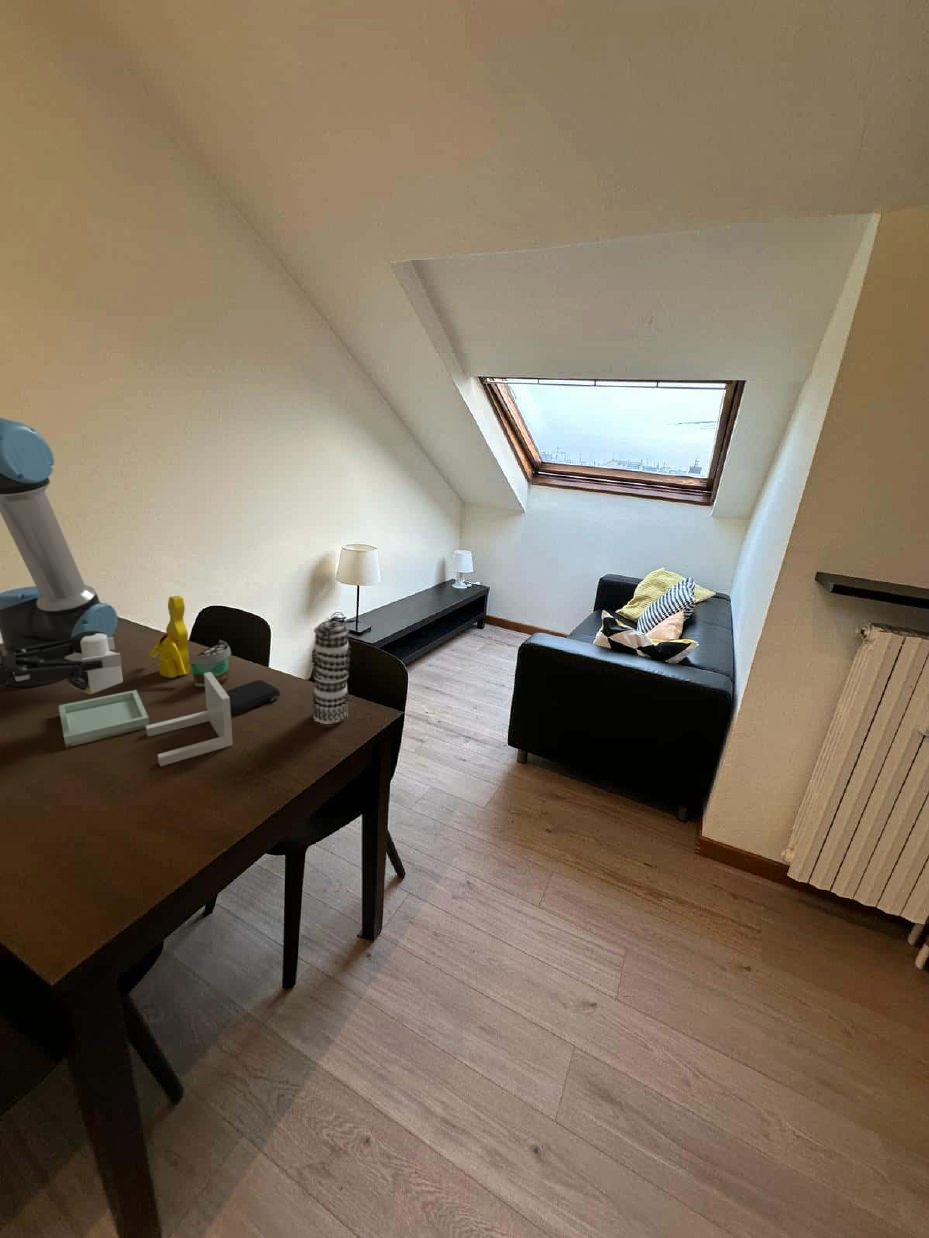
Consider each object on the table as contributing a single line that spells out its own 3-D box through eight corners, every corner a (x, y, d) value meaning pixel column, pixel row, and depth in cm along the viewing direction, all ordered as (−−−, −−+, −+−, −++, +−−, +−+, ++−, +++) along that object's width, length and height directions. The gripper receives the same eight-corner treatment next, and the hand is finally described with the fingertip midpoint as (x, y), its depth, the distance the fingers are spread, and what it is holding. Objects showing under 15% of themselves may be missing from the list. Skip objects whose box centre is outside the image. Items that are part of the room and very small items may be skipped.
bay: (146, 733, 109) (140, 685, 105) (214, 716, 118) (210, 671, 114) (160, 766, 99) (153, 715, 95) (232, 745, 108) (229, 697, 104)
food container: (212, 695, 127) (209, 660, 124) (191, 690, 128) (188, 656, 125) (242, 675, 138) (240, 643, 135) (222, 671, 139) (220, 639, 136)
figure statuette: (143, 667, 137) (134, 593, 129) (172, 659, 143) (164, 587, 136) (178, 688, 128) (170, 610, 121) (207, 678, 134) (201, 603, 127)
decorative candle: (356, 718, 124) (359, 627, 115) (324, 730, 117) (325, 634, 109) (336, 703, 129) (338, 615, 121) (304, 714, 123) (304, 622, 114)
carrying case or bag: (234, 721, 117) (286, 699, 129) (234, 710, 116) (285, 689, 128) (209, 705, 123) (261, 686, 135) (208, 694, 122) (260, 676, 134)
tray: (60, 714, 112) (58, 705, 111) (137, 698, 122) (136, 689, 121) (65, 747, 102) (63, 737, 101) (149, 726, 111) (148, 717, 110)
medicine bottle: (68, 686, 106) (59, 635, 102) (102, 674, 112) (95, 625, 108) (90, 695, 103) (81, 643, 100) (123, 682, 110) (117, 633, 106)
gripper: (-18, 667, 103) (112, 648, 117) (-22, 713, 88) (127, 685, 102) (-25, 634, 100) (108, 619, 115) (-31, 676, 85) (123, 653, 100)
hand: (117, 650), depth 108 cm, fingers closed on medicine bottle, 9 cm apart
